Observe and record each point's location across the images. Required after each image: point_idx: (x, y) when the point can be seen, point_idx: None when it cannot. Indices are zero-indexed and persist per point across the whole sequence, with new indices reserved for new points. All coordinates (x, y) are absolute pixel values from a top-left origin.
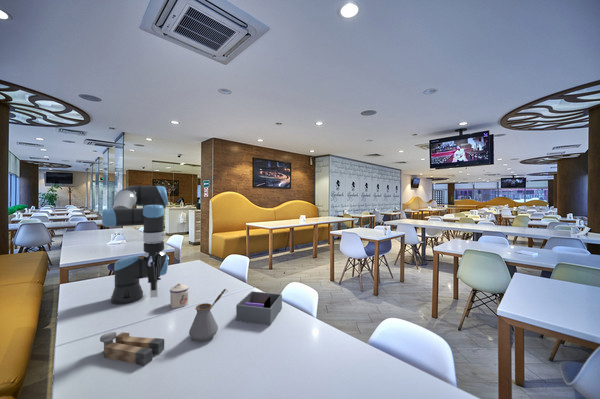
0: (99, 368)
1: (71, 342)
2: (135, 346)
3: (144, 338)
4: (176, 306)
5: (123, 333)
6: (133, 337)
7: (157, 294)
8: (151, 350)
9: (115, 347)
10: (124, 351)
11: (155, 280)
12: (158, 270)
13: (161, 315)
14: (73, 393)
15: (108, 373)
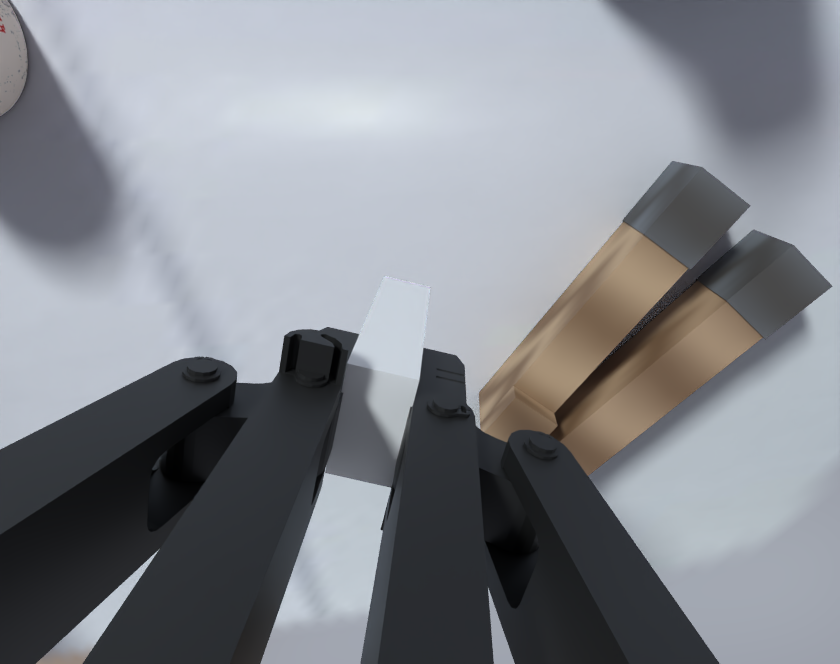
0: (650, 460)
1: (321, 589)
2: (679, 343)
3: (601, 298)
4: (20, 68)
5: (503, 427)
6: (544, 362)
7: (428, 297)
8: (792, 247)
9: (614, 441)
10: (686, 393)
11: (554, 451)
12: (232, 497)
13: (142, 190)
14: (786, 517)
15: (726, 421)
